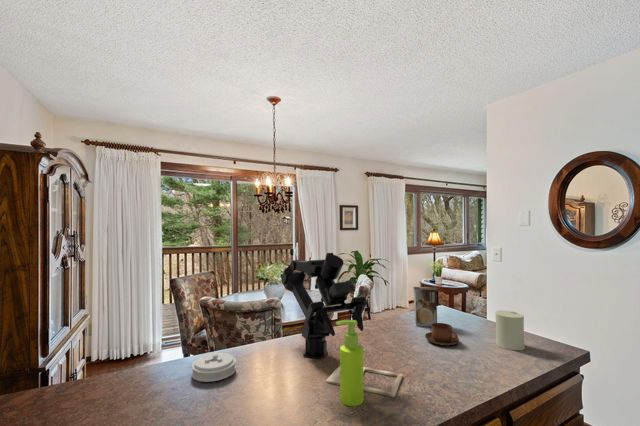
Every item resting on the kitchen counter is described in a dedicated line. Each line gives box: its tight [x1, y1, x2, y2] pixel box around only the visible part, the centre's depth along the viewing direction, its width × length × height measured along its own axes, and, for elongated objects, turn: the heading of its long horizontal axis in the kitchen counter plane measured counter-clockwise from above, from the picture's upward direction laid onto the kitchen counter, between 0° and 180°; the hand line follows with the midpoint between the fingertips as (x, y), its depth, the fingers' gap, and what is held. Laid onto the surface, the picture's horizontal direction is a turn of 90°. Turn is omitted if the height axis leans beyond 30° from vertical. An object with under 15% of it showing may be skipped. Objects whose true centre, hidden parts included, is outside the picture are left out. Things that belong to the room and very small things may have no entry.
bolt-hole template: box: [326, 364, 404, 398], centre depth 92 cm, size 19×12×1 cm, turn 66°
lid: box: [191, 352, 237, 383], centre depth 96 cm, size 13×13×5 cm
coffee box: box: [413, 286, 438, 327], centre depth 142 cm, size 9×6×16 cm
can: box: [494, 310, 526, 351], centre depth 118 cm, size 9×9×12 cm
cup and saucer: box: [424, 322, 460, 346], centre depth 121 cm, size 12×12×6 cm
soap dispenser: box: [335, 319, 365, 407], centre depth 82 cm, size 6×7×20 cm
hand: (348, 332), depth 90 cm, fingers open, 9 cm apart
